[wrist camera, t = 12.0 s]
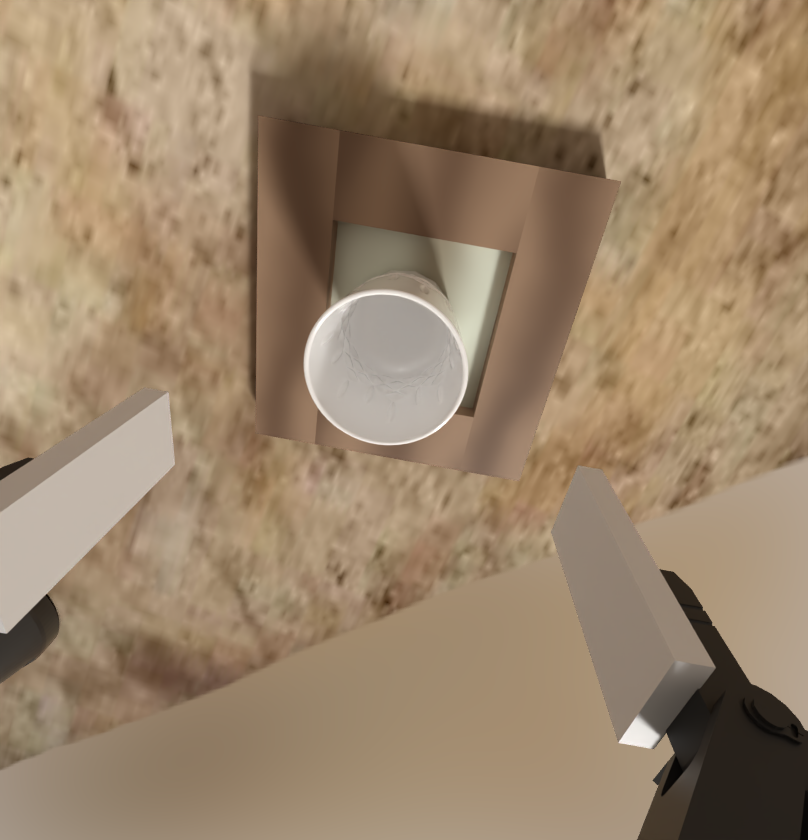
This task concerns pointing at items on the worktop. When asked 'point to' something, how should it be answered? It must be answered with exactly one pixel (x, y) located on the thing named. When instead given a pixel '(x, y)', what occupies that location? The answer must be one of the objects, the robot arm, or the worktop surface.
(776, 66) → the worktop surface
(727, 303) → the worktop surface
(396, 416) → the white cup
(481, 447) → the wooden picture frame
